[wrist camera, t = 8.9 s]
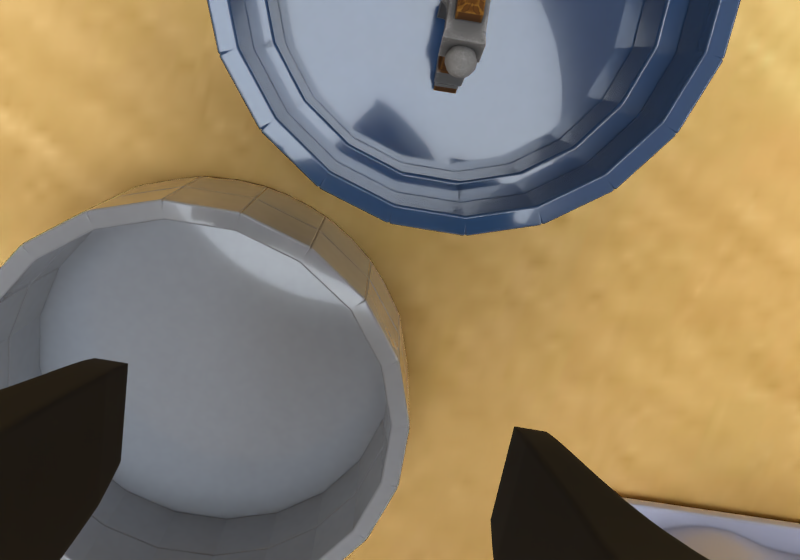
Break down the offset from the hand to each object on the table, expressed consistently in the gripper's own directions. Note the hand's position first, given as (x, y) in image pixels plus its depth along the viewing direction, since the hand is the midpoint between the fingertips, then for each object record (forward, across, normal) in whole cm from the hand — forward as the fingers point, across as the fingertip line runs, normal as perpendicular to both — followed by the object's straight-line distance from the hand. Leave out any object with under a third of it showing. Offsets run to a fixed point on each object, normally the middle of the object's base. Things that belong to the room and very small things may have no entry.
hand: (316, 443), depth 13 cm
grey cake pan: (+9, +4, +3) cm, 11 cm away
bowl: (+9, -2, -9) cm, 13 cm away
